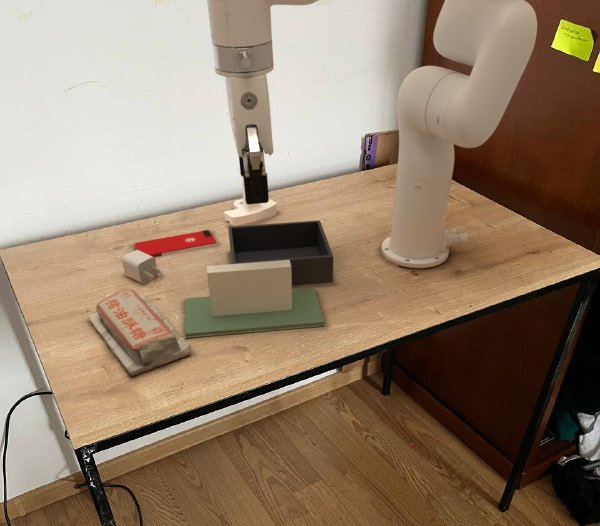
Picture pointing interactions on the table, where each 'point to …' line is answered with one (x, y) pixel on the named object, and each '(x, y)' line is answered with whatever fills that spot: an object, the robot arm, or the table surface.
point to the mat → (252, 317)
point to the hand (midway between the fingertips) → (254, 188)
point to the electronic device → (175, 243)
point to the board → (250, 287)
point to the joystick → (249, 211)
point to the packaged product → (137, 332)
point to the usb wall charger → (140, 266)
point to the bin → (286, 248)
